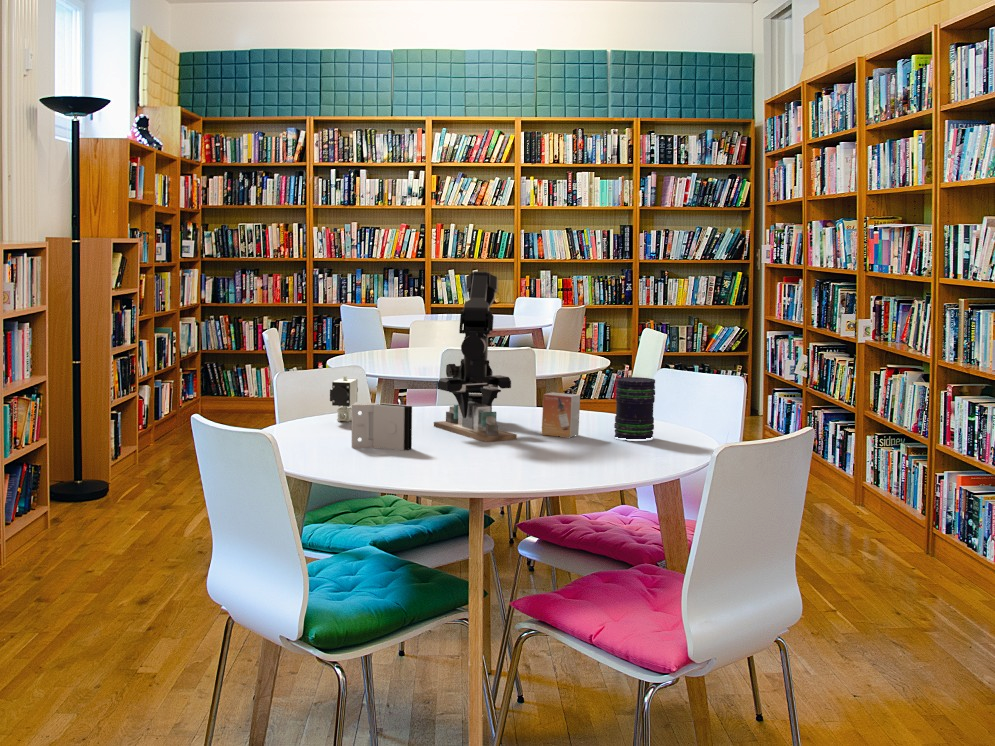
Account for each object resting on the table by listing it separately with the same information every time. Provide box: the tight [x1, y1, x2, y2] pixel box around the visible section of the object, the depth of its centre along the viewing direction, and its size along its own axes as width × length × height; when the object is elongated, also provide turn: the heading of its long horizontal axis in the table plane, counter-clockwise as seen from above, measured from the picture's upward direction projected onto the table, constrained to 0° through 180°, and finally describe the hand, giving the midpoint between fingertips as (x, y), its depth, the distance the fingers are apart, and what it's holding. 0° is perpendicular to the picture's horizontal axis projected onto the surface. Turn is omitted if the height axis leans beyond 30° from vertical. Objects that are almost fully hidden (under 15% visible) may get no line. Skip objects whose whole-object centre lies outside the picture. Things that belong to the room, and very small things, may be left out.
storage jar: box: [613, 376, 656, 439], centre depth 267 cm, size 10×10×15 cm
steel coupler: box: [457, 401, 491, 431], centre depth 271 cm, size 10×4×6 cm, turn 32°
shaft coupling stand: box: [433, 404, 518, 443], centre depth 271 cm, size 9×26×6 cm, turn 32°
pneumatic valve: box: [329, 375, 359, 423], centre depth 286 cm, size 6×12×12 cm, turn 174°
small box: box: [541, 391, 581, 438], centre depth 270 cm, size 8×6×10 cm
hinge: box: [351, 402, 413, 451], centre depth 248 cm, size 14×5×10 cm, turn 80°
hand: (474, 417), depth 271 cm, fingers open, 5 cm apart
